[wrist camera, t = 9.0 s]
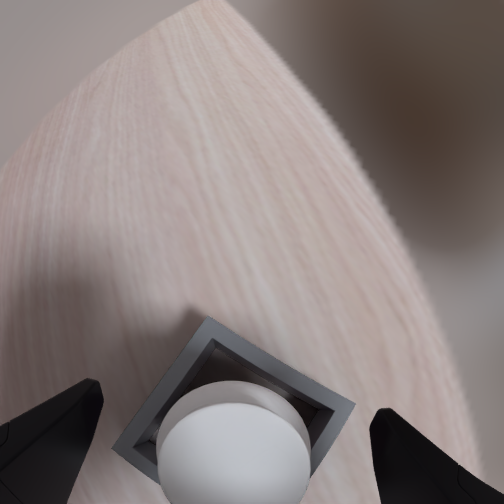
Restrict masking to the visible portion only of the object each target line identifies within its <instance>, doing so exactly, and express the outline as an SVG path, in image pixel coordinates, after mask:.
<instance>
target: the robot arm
mask: <svg viewBox="0 0 504 504" xmlns="http://www.w3.org/2000/svg"><path fill="white" fill-rule="evenodd" d="M103 403H104V398H103V394H102V390H101V387H100V383H99V382H98V381H97V380H93V379H90V378H87V379H84V380H83V381H81V382H79V383H77V384H76V385H74V386H72V387H70V388H68V389H67V390H65V391H63V392H61V393H60V394H58V395H56V396H54V397H52V398H51V399H49V400H47V401H45V402H43V403H42V404H40V405H38V406H36V407H34V408H33V409H31V410H29V411H27V412H25V413H23V414H22V415H20V416H18V417H16V418H14V419H12V420H10V422H7V423H5V424H3V425H1V426H0V504H67V501H68V498H69V496H70V493H71V491H72V488H73V486H74V483H75V481H76V478H77V476H78V473H79V471H80V468H81V466H82V464H83V461H84V459H85V456H86V454H87V452H88V449H89V447H90V445H91V442H92V439H93V436H94V433H95V430H96V426H97V423H98V420H99V416H100V413H101V410H102V407H103ZM369 431H370V440H371V449H372V458H373V467H374V472H375V477H376V481H377V486H378V491H379V495H380V500H381V504H504V494H502V493H501V492H499V491H497V490H496V489H494V488H492V487H491V486H489V485H487V484H485V483H484V482H483V481H481V480H480V479H478V478H477V477H475V476H474V475H472V474H471V473H470V472H468V471H467V470H466V469H464V468H463V467H462V466H461V465H458V463H457V462H456V461H454V460H453V459H452V458H451V457H449V456H448V455H447V454H446V453H444V452H443V451H442V450H441V449H440V448H438V447H437V446H436V445H435V444H433V443H432V442H431V441H430V440H429V439H427V438H426V437H425V436H424V435H422V434H421V433H420V432H419V431H418V430H416V429H415V428H414V427H413V426H412V425H410V424H409V423H408V422H407V421H406V420H404V419H403V418H402V417H401V416H400V415H398V414H397V413H396V412H395V411H394V410H393V409H391V408H381V409H379V410H378V411H377V412H376V414H375V416H374V418H373V420H372V422H371V424H370V428H369Z"/></svg>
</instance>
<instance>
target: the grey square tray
mask: <svg viewBox="0 0 504 504" xmlns="http://www.w3.org/2000/svg"><path fill="white" fill-rule="evenodd" d="M215 348H217V349H219V350H220V351H222V352H223V353H225V354H226V355H228V356H230V357H231V358H233V359H234V360H236V361H237V362H239V363H240V364H242V365H244V366H245V367H247V368H248V369H250V370H252V371H253V372H255V373H257V374H258V375H260V376H261V377H263V378H265V379H266V380H268V381H270V382H271V383H273V384H275V385H277V386H278V387H280V388H282V389H283V390H285V391H287V392H289V393H290V394H292V395H294V396H296V397H298V398H299V399H301V400H303V401H305V402H307V403H308V404H310V405H312V406H314V407H316V408H318V409H319V410H318V412H317V413H316V415H315V417H314V418H313V420H312V421H311V423H310V425H309V426H308V428H307V431H308V435H309V439H310V447H311V455H310V467H311V472H310V478H311V476H312V475H313V473H314V472H315V470H316V469H317V467H318V466H319V465H320V463H321V461H322V460H323V458H324V457H325V455H326V454H327V452H328V451H329V449H330V448H331V446H332V444H333V443H334V441H335V439H336V438H337V436H338V434H339V433H340V431H341V429H342V428H343V426H344V424H345V423H346V421H347V419H348V417H349V416H350V414H351V412H352V410H353V408H354V407H355V405H356V403H354V402H352V401H350V400H348V399H347V398H345V397H343V396H341V395H339V394H337V393H335V392H333V391H332V390H330V389H328V388H326V387H324V386H323V385H321V384H319V383H317V382H315V381H314V380H312V379H310V378H308V377H307V376H305V375H303V374H301V373H300V372H298V371H296V370H294V369H293V368H291V367H289V366H288V365H286V364H284V363H283V362H281V361H279V360H278V359H276V358H274V357H273V356H271V355H269V354H268V353H266V352H264V351H263V350H261V349H259V348H258V347H256V346H255V345H253V344H251V343H250V342H248V341H247V340H245V339H243V338H242V337H240V336H239V335H237V334H236V333H234V332H233V331H231V330H229V329H228V328H226V327H225V326H223V325H222V324H220V323H219V322H217V321H216V320H214V319H213V318H211V317H210V316H207V317H206V319H205V320H204V322H203V323H202V324H201V326H200V327H199V328H198V330H197V331H196V333H195V334H194V335H193V337H192V338H191V339H190V341H189V342H188V344H187V345H186V346H185V348H184V349H183V350H182V352H181V353H180V355H179V356H178V357H177V359H176V360H175V362H174V363H173V364H172V366H171V367H170V368H169V370H168V371H167V373H166V374H165V375H164V377H163V378H162V379H161V381H160V382H159V383H158V385H157V386H156V388H155V389H154V390H153V392H152V393H151V394H150V396H149V397H148V399H147V400H146V401H145V403H144V404H143V405H142V407H141V408H140V410H139V411H138V412H137V414H136V415H135V416H134V418H133V419H132V421H131V422H130V423H129V425H128V426H127V427H126V429H125V430H124V432H123V433H122V434H121V436H120V437H119V438H118V440H117V441H116V443H115V444H114V445H113V447H112V449H113V450H114V451H115V452H116V453H118V454H119V455H120V456H121V457H123V458H124V459H125V460H126V461H128V462H129V463H130V464H132V465H133V466H134V467H136V468H137V469H138V470H140V471H141V472H142V473H144V474H145V475H146V476H148V477H149V478H151V479H152V480H154V481H155V482H156V483H158V484H159V485H161V484H160V481H159V477H158V469H157V464H158V461H157V455H156V446H155V445H154V444H152V443H151V442H149V441H148V440H149V439H150V438H151V436H152V435H153V434H154V432H155V431H156V429H157V428H158V427H159V425H160V424H161V423H162V421H163V420H164V418H165V416H166V415H167V413H168V412H169V410H170V409H171V408H172V406H173V405H174V404H175V403H176V402H177V401H178V399H179V398H180V397H181V395H182V394H183V392H184V391H185V390H186V388H187V387H188V386H189V384H190V383H191V381H192V380H193V379H194V377H195V376H196V374H197V373H198V372H199V370H200V369H201V367H202V366H203V365H204V363H205V362H206V360H207V359H208V357H209V356H210V355H211V353H212V352H213V350H214V349H215Z"/></svg>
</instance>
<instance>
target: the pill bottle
mask: <svg viewBox="0 0 504 504" xmlns="http://www.w3.org/2000/svg"><path fill="white" fill-rule="evenodd" d="M156 455H157V461H158V464H157V469H158V477H159V481H160V484H161V487H162V489H163V492H164V494H165V495H166V497H167V499H168V500H169V502H170V503H171V504H298V503H299V502H300V501H301V499H302V498H303V496H304V494H305V492H306V490H307V487H308V484H309V479H310V472H311V467H310V455H311V447H310V439H309V435H308V431H307V429H306V426H305V424H304V422H303V420H302V418H301V417H300V415H299V414H298V412H297V411H296V409H295V408H294V407H293V406H292V405H291V404H290V403H289V402H288V401H287V400H285V399H284V398H283V397H281V396H280V395H279V394H277V393H275V392H274V391H272V390H270V389H267V388H265V387H263V386H260V385H257V384H253V383H249V382H243V381H221V382H215V383H210V384H207V385H204V386H201V387H199V388H197V389H194V390H192V391H191V392H189V393H187V394H186V395H184V396H183V397H182V398H181V399H179V400H178V401H177V402H176V403H175V404H174V405H173V406H172V408H171V409H170V410H169V412H168V413H167V415H166V416H165V418H164V420H163V422H162V424H161V426H160V429H159V432H158V435H157V442H156Z"/></svg>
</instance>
